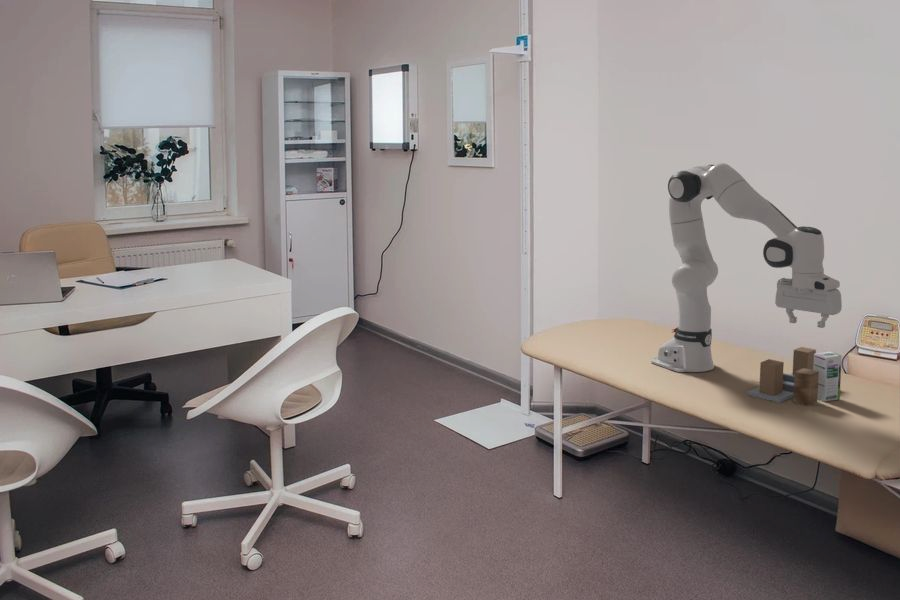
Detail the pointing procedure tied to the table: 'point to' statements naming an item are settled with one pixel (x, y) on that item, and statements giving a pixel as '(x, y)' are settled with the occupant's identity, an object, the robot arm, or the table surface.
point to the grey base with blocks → (782, 376)
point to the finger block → (806, 386)
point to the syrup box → (828, 375)
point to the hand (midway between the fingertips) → (806, 325)
